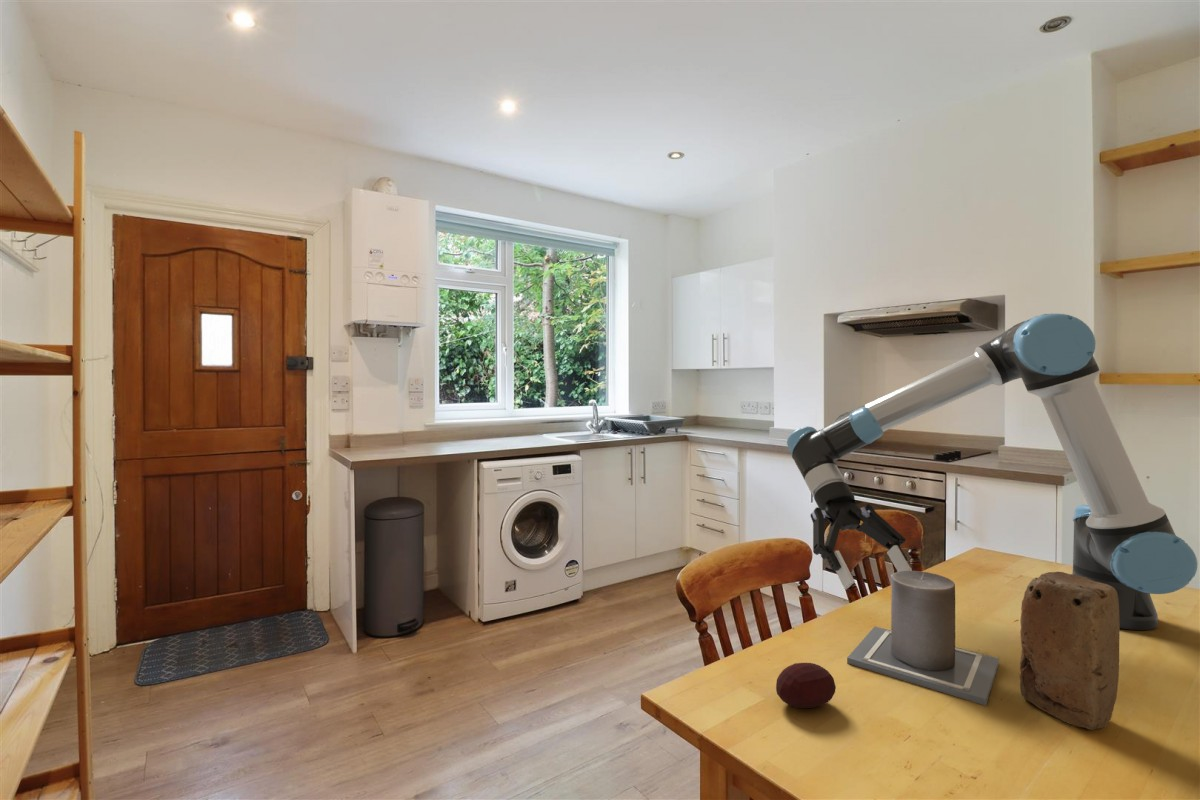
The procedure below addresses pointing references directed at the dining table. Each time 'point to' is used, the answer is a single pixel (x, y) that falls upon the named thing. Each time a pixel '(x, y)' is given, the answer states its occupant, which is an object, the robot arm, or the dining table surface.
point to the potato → (805, 685)
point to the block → (1070, 648)
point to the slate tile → (961, 680)
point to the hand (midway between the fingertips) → (880, 582)
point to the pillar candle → (923, 620)
